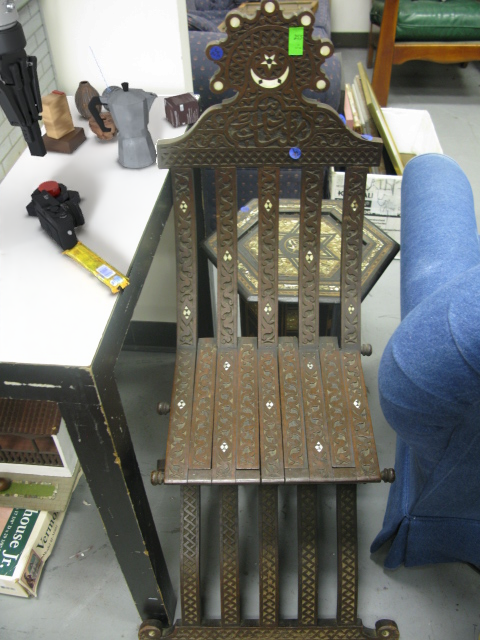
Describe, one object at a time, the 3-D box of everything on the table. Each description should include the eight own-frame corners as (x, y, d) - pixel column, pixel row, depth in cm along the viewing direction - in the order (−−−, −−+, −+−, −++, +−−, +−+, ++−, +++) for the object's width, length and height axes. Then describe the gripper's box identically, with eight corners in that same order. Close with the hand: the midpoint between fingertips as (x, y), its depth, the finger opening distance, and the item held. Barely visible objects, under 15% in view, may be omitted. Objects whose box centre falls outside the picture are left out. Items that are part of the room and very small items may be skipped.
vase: (82, 123, 147) (74, 89, 141) (75, 113, 151) (67, 80, 145) (107, 116, 149) (100, 83, 143) (99, 107, 154) (92, 75, 147)
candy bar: (112, 290, 95) (115, 297, 97) (131, 276, 97) (133, 284, 99) (58, 247, 104) (61, 254, 105) (76, 235, 105) (79, 243, 107)
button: (36, 196, 115) (34, 189, 113) (47, 187, 117) (44, 179, 116) (54, 199, 114) (51, 191, 113) (63, 189, 116) (61, 181, 115)
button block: (28, 215, 116) (22, 199, 113) (48, 195, 122) (43, 179, 119) (62, 220, 114) (57, 203, 112) (80, 200, 120) (76, 183, 117)
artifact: (104, 128, 144) (100, 109, 141) (128, 133, 141) (124, 114, 138) (85, 141, 139) (81, 121, 136) (109, 146, 137) (105, 127, 133)
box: (200, 123, 146) (174, 129, 144) (191, 114, 150) (166, 120, 148) (198, 100, 142) (171, 106, 140) (189, 91, 146) (163, 97, 143)
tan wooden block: (57, 139, 134) (46, 101, 128) (47, 136, 136) (36, 98, 129) (75, 129, 138) (65, 92, 131) (64, 126, 139) (54, 89, 133)
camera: (101, 243, 108) (92, 208, 102) (67, 258, 105) (56, 223, 99) (68, 212, 116) (58, 178, 111) (36, 226, 113) (24, 191, 107)
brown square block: (42, 150, 137) (38, 138, 135) (58, 135, 143) (55, 124, 140) (70, 153, 135) (67, 142, 133) (86, 138, 141) (83, 127, 139)
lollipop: (130, 60, 133) (110, 79, 131) (134, 107, 152) (116, 123, 151) (100, 35, 133) (80, 53, 131) (107, 84, 152) (90, 101, 151)
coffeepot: (164, 146, 136) (154, 71, 123) (167, 165, 129) (156, 87, 117) (101, 153, 135) (84, 78, 122) (100, 173, 128) (82, 95, 115)
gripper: (-6, 38, 88) (38, 172, 104) (37, 13, 97) (72, 141, 113) (-46, 35, 89) (3, 168, 106) (0, 11, 98) (39, 137, 115)
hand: (39, 154), depth 109 cm, fingers closed
